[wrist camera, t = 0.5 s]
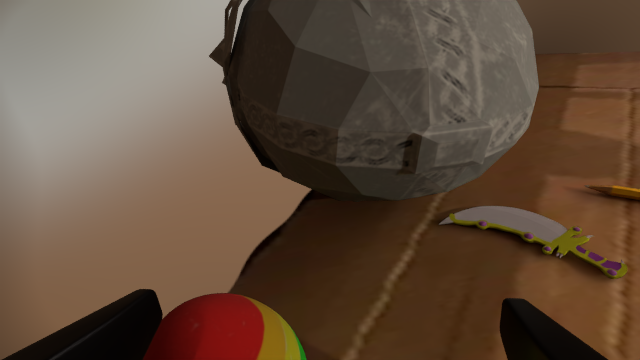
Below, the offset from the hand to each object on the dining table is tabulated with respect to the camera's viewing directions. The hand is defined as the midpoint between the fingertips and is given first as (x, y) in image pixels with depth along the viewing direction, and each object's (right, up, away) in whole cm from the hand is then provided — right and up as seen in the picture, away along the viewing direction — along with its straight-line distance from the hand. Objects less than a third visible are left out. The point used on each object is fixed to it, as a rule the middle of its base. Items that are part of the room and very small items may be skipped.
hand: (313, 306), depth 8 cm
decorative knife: (+18, +1, +18) cm, 25 cm away
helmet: (0, +21, +34) cm, 40 cm away
